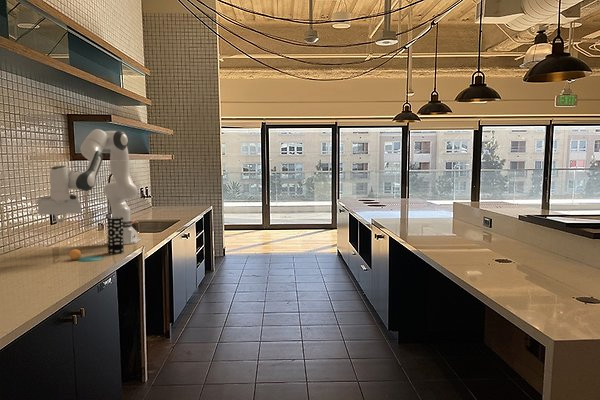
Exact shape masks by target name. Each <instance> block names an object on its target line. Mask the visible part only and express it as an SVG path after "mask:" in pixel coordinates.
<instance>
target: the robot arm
mask: <svg viewBox="0 0 600 400" xmlns="http://www.w3.org/2000/svg"><path fill="white" fill-rule="evenodd" d="M128 144H129V137H128V135H127V134H126V132H124V131H120V130H105V131H104V130H102V129H100V128H95V129H93V130H92V131H91V132H90V133H89V134H88V135H87V136H86V138H85V139H84V140H83V142H82V143H81V145H80V153H81V156H83V157H84V158H85V159H87V160H88V161H89V163H88V165H87V168H86V170H84V171H79V172H78V171H77V172H76V171H72V170H70V168H68V167H67V165H55V166H52V167H51V169H50V171H49V184H50V189H49V196H40V197H39V198H37V199H36V204H37V207H38V208H37V214H39V216H40V215H41V216H43V215H46V216H47V215H53V216H54V217H55V219H56V222H57V224H58V223H59V224H60V223H64V219H65V218H66V217H67V214H68V215H70V214H71V215H72V214H81V212H82V204H81V202H80V200H79V199H80V198H79V196H78V195H76V194H74V193H70V190H74V191H75V190H76V191H85V192H88V191H91V190H92V189H93V188H95V184H96V179H97V176H98V173H99V170H100V168H101V165H102V163H103V150H104V149H105V150H110V152H109V155H110V156H109V163H110V173H111V175H112V176H113V178H114V180H115V181H112V182H108V183H107V184H105V185H104V188H103V193H104V195H105V196H106V198H107V199H108V203H109V205H110V211H111V217H123V240H124V245H131V244H132V245H133V244H137V243H138V242H140V241H141V240H142V238H139V237H138V232H137V230H136V229H135V228H134V227H133V224H134V220H131V208H130V206H128V203H127V202H126V201H129V200H134V199H135V198H137V196H138V194H139V193H138V192H139V191H138V187H137V185H135V183H134V182H133V179H132V176H131V171H130V170H131V169H130V156H129V149H128ZM59 215H61V216H62V218H59ZM106 243H107V244H108V240H107V241H106Z"/></svg>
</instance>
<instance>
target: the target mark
mask: <svg viewBox="0 0 600 400" xmlns="http://www.w3.org/2000/svg"><path fill="white" fill-rule="evenodd" d="M100 259H101V260H103V259H104V257H103V256H99V255H89V256H88V255H87V256H81V257H80V258H79V259H77V260H76V261H78V262H84V263H85V262H95V261H96V260H97V261H100ZM97 261H96V262H97Z"/></svg>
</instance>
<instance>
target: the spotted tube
mask: <svg viewBox="0 0 600 400" xmlns="http://www.w3.org/2000/svg"><path fill="white" fill-rule="evenodd" d="M106 224H107V241H108V243H107V254H108V255H121V254H123V253H125V252H124V251H125V250H124V249H125V248H124V245H125V244H124V240H123V217H112V216H111V217H107V219H106Z"/></svg>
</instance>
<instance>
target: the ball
mask: <svg viewBox="0 0 600 400" xmlns="http://www.w3.org/2000/svg"><path fill="white" fill-rule="evenodd" d="M81 257H82V252H81V251H80V250H79V249H72V250H70V252H69V258H70V259H71V260H73V261H77V259H79V258H81Z"/></svg>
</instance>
